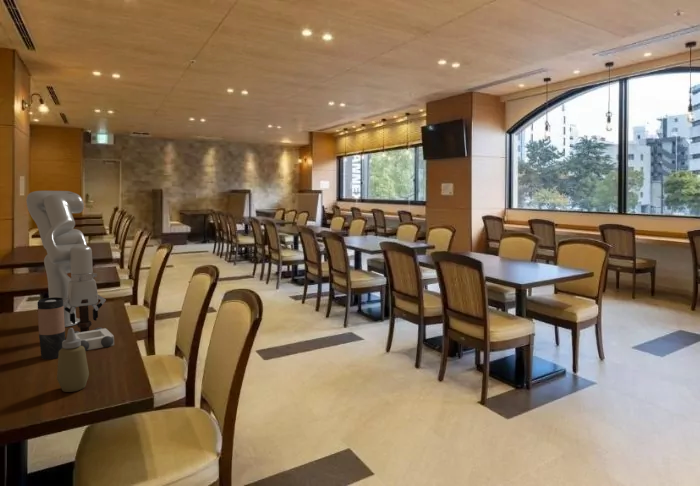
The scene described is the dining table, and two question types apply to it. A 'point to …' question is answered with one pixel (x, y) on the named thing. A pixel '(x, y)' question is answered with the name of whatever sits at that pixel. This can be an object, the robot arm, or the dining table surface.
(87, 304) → the robot arm
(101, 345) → the chassis
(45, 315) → the travel mug
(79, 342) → the squeeze bottle
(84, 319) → the bolt
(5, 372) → the dining table surface
